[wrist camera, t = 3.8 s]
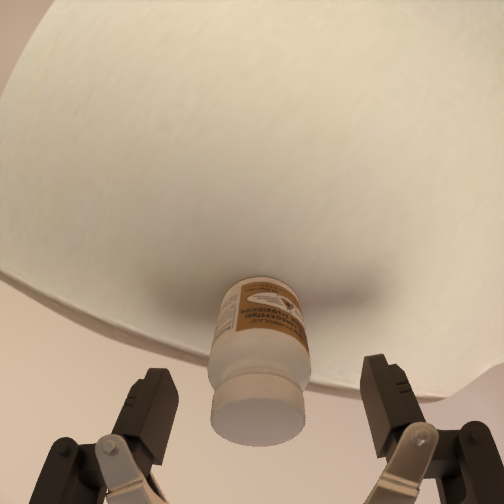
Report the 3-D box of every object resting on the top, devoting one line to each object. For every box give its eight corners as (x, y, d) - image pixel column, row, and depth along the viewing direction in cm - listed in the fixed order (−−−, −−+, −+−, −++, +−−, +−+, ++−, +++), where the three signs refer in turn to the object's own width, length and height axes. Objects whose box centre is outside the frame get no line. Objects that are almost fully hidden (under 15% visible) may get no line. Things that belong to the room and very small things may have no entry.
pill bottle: (316, 297, 16) (344, 411, 9) (272, 349, 18) (274, 460, 11) (246, 259, 15) (232, 369, 8) (207, 318, 17) (178, 430, 10)
